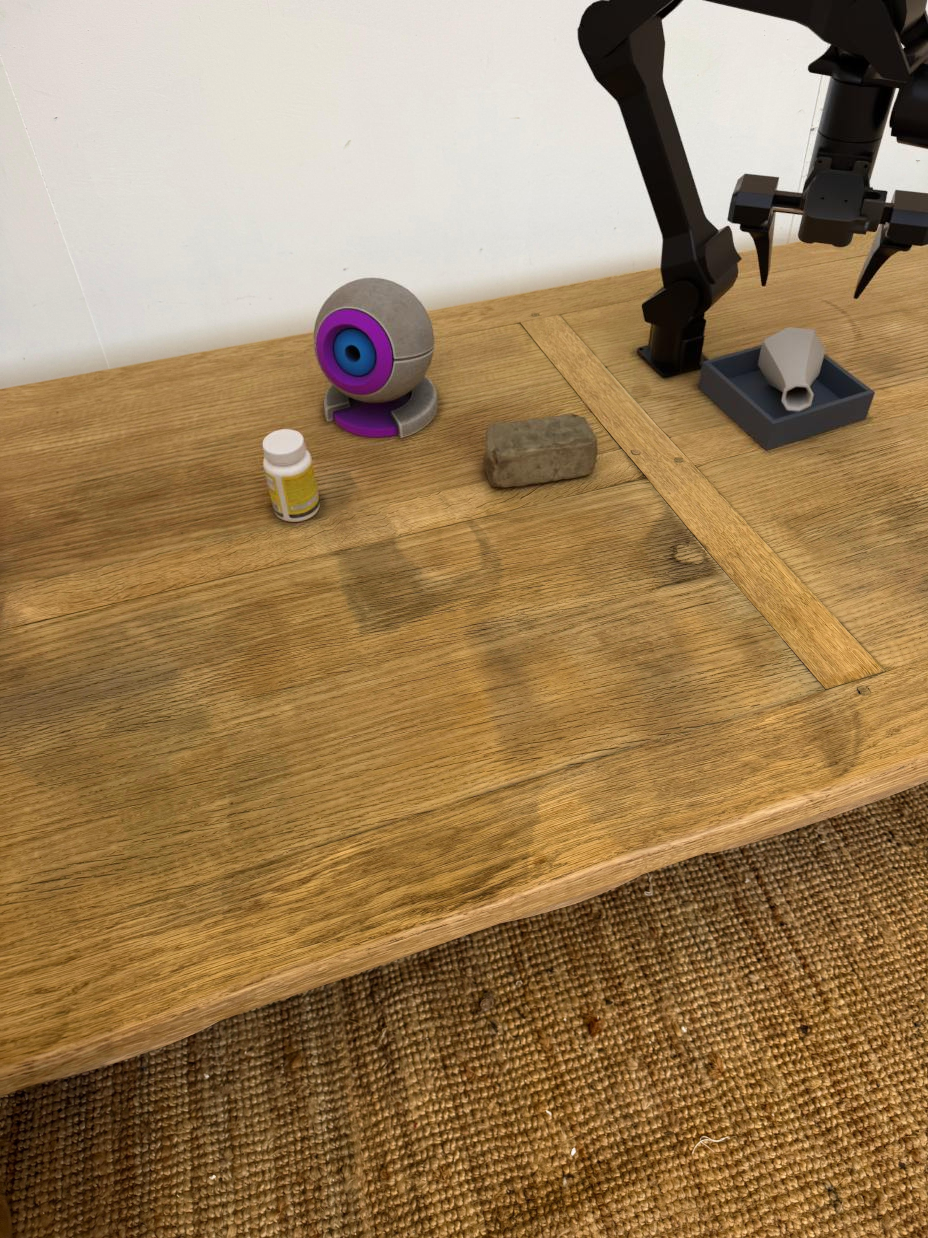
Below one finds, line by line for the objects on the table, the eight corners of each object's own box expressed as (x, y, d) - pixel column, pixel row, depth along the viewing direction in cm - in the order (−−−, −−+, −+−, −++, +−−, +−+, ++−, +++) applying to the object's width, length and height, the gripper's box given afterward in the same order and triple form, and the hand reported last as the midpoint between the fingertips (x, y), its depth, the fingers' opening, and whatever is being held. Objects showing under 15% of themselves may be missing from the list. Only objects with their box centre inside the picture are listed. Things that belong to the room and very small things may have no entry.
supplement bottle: (328, 498, 97) (316, 431, 91) (308, 527, 94) (294, 460, 88) (286, 489, 98) (272, 422, 92) (265, 518, 95) (249, 451, 89)
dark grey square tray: (697, 387, 108) (702, 361, 106) (792, 360, 112) (799, 333, 109) (766, 450, 100) (773, 423, 97) (866, 419, 103) (875, 391, 101)
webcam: (305, 426, 105) (282, 303, 94) (356, 367, 113) (340, 247, 102) (410, 450, 102) (399, 325, 91) (455, 387, 110) (450, 265, 99)
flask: (753, 333, 104) (756, 374, 97) (822, 318, 102) (831, 358, 94) (761, 391, 109) (765, 434, 101) (828, 378, 106) (837, 421, 99)
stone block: (598, 478, 98) (601, 439, 94) (491, 495, 96) (490, 456, 93) (582, 445, 102) (585, 406, 98) (479, 461, 100) (477, 423, 97)
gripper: (733, 154, 83) (705, 315, 94) (959, 177, 78) (901, 344, 90) (751, 109, 90) (723, 264, 101) (959, 128, 85) (905, 289, 97)
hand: (809, 290), depth 97 cm, fingers open, 9 cm apart
